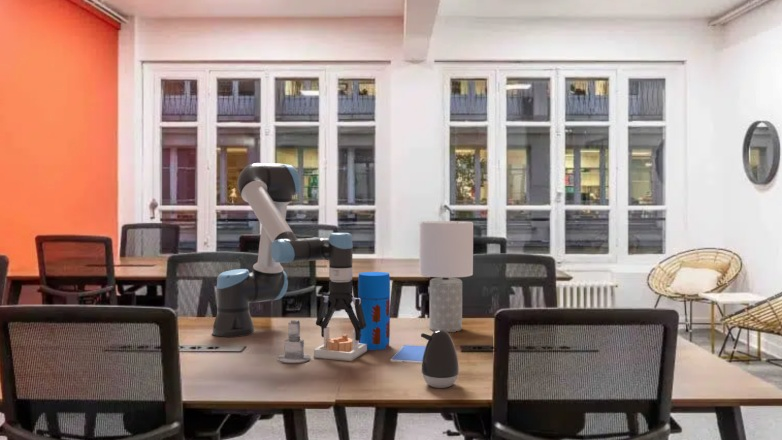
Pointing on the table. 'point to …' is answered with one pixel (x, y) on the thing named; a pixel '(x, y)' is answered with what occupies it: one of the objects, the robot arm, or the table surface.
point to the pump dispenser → (439, 360)
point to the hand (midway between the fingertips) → (340, 348)
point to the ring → (340, 344)
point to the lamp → (446, 269)
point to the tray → (340, 353)
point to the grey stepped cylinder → (294, 346)
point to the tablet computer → (409, 354)
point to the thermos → (375, 309)
